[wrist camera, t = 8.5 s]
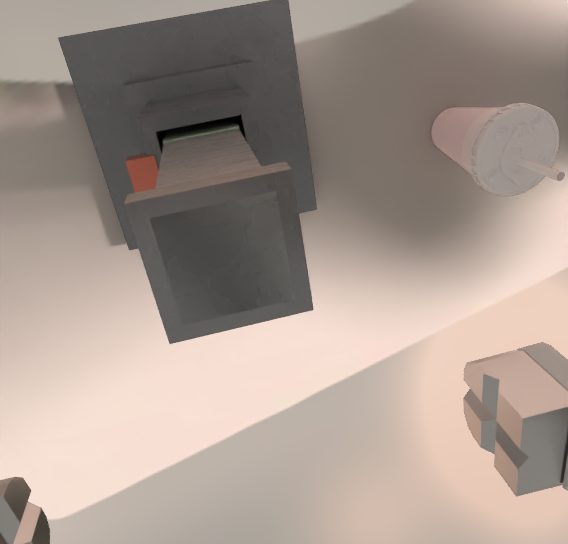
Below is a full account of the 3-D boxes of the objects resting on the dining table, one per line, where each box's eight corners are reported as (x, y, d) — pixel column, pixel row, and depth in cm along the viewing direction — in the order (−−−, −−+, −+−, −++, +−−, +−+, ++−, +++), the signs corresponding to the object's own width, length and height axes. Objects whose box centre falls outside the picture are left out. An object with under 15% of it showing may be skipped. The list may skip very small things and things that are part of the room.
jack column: (236, 101, 31) (291, 168, 15) (251, 179, 34) (313, 309, 18) (155, 116, 31) (124, 204, 15) (176, 195, 33) (169, 343, 17)
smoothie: (418, 173, 44) (511, 227, 31) (414, 99, 41) (514, 126, 28) (485, 157, 44) (602, 204, 32) (485, 82, 41) (615, 102, 29)
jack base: (284, -2, 36) (327, -18, 25) (312, 203, 43) (355, 260, 32) (62, 37, 34) (7, 38, 24) (131, 243, 42) (112, 315, 31)
